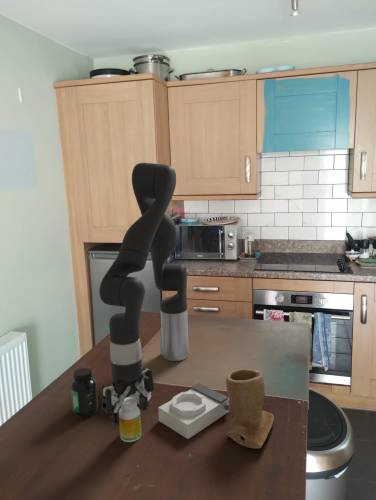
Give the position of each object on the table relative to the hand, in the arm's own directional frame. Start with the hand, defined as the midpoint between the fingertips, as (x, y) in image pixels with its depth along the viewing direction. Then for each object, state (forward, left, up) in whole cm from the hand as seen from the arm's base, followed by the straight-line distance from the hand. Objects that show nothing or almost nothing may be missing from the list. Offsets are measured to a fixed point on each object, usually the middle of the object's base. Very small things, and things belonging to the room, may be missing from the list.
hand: (129, 416), depth 106 cm
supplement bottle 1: (-18, -2, -6) cm, 19 cm away
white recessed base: (+6, +17, -6) cm, 19 cm away
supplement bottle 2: (0, 0, -6) cm, 6 cm away
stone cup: (+20, +22, -6) cm, 30 cm away
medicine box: (-12, +11, -6) cm, 18 cm away
